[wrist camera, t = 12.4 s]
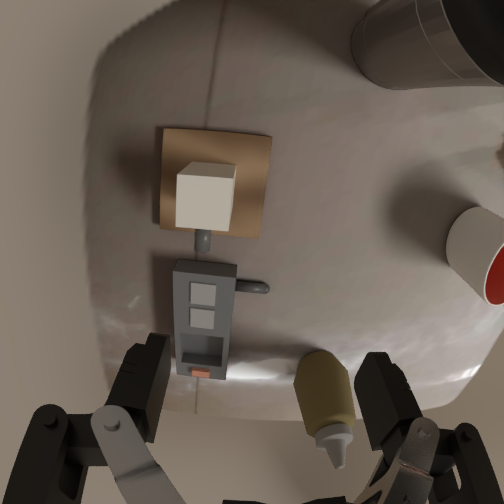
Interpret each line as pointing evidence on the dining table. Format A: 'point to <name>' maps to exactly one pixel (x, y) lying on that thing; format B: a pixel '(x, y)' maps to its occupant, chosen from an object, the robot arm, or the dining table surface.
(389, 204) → the dining table surface
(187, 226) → the block
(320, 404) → the squeeze bottle
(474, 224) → the cup
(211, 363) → the power strip
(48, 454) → the robot arm
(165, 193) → the walnut board
